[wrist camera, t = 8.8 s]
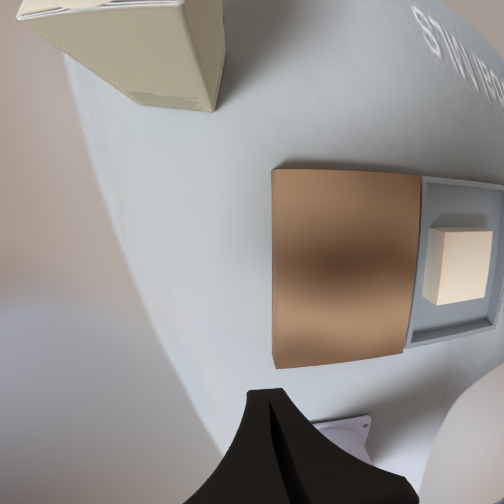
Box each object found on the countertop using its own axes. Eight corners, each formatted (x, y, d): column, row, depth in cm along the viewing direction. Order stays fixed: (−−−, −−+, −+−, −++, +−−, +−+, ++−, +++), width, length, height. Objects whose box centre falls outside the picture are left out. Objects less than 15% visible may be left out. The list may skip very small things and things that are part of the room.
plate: (390, 340, 22) (402, 353, 20) (271, 353, 21) (275, 369, 19) (404, 174, 19) (420, 175, 17) (271, 170, 19) (276, 169, 17)
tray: (485, 322, 23) (495, 328, 21) (396, 339, 22) (405, 348, 21) (502, 185, 20) (514, 187, 19) (410, 175, 19) (422, 175, 18)
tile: (469, 289, 21) (484, 297, 20) (421, 296, 21) (436, 305, 19) (476, 227, 20) (492, 231, 18) (428, 227, 20) (444, 232, 18)
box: (227, 51, 17) (233, -99, 4) (214, 116, 18) (193, 6, 5) (145, 44, 16) (66, -84, 4) (129, 107, 17) (6, 22, 5)
